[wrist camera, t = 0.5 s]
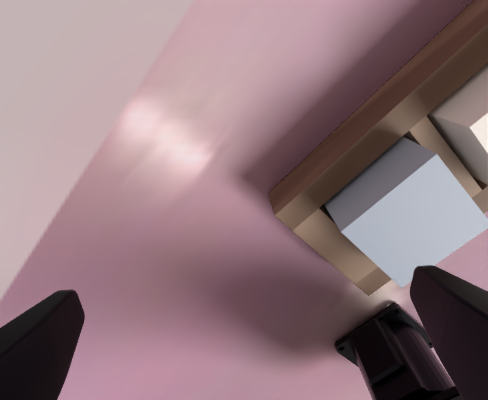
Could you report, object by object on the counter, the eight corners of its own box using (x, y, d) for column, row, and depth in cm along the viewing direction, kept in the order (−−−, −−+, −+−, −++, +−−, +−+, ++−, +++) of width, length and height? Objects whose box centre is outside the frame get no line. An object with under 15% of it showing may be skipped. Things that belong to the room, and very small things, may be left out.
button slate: (447, 194, 19) (492, 225, 16) (374, 250, 20) (401, 288, 17) (397, 133, 17) (436, 153, 14) (321, 200, 18) (340, 231, 15)
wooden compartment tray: (714, -8, 16) (809, -19, 14) (352, 266, 23) (368, 295, 21) (669, -184, 13) (781, -241, 11) (268, 193, 20) (274, 215, 18)
